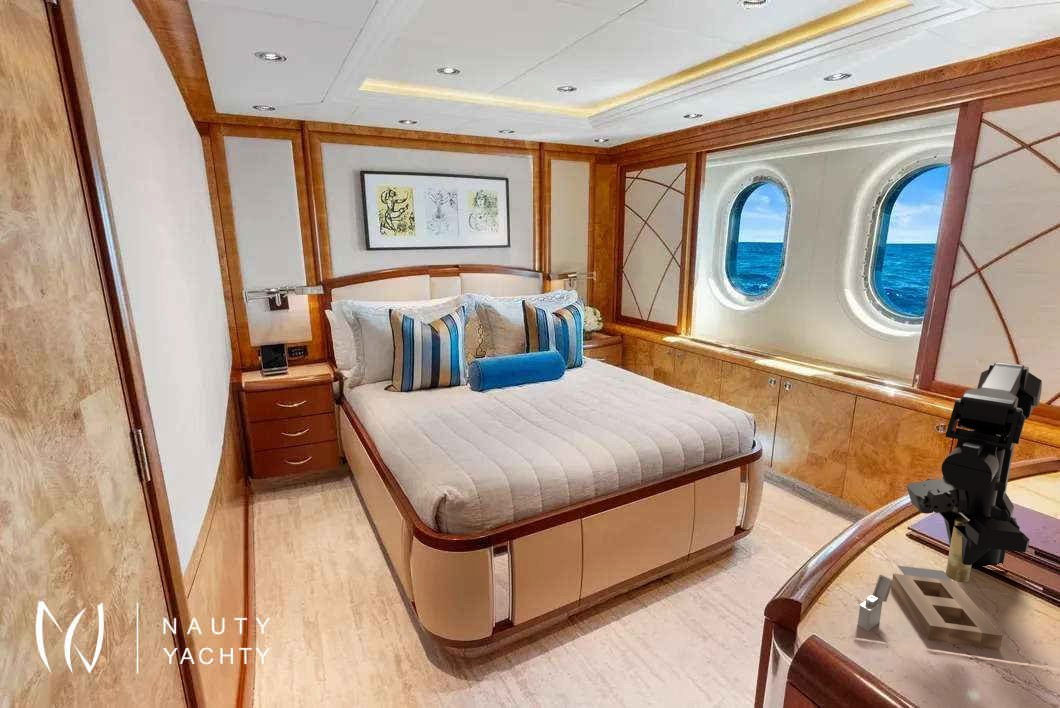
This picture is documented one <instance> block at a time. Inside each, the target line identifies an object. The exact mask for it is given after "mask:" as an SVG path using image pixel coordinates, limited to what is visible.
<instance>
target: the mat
mask: <svg viewBox="0 0 1060 708" xmlns="http://www.w3.org/2000/svg"><path fill="white" fill-rule="evenodd" d="M897 567H898V568H899V569H900V570H901V572H902V573H903V575H910V576H918V577H926V578H934V579H942V580H950V581H953V580H952V579H950V578H949V577H947V576H946V571H944V570H940V569H931V568H922V567H914V566H908V565H907V566H905V565H897Z"/></svg>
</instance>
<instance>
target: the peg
mask: <svg viewBox="0 0 1060 708" xmlns="http://www.w3.org/2000/svg"><path fill="white" fill-rule="evenodd" d="M966 522H968V520H967V519H963V518H956V519H955V521H954V525H957V526H966ZM948 551H949V552H948V557H947V563H946V568H945V573H946V576H947V577H949V578H950V579H951V580H952V581H955V582H956V583H957V582H958V583H963V584H966V583H969V580H970V576H971V575H970V574H971V571H972V568H971V566H972V565H964V564H963V563H962V535H961V533H960V532H959V531H958V530H957V529H956V528H955V527H953V533H952V539H951V545H950V544H949V550H948Z"/></svg>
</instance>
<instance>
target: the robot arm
mask: <svg viewBox="0 0 1060 708" xmlns="http://www.w3.org/2000/svg"><path fill="white" fill-rule="evenodd" d="M1029 369H1030V368H1029V366H1026V365H1024V364H1017V363H1010V362H1009V363H1007V362H999V361H996V362H991V363H990V364H989V367H988V369H987V370H984V371H982V372H981V373H980V376H979V380H978V383H977V387H976V388H972V389H971V388H970V389H967V390H966V391H965V392H964V393H962V395H961V398H959V397H958V398H956V399H955V402H954V405H953V408H952V412H951V414H950V415H951V416H950V419H949V421H948V425H947V429H946V432H945V438H948V439H949V438H950V439H954V440H957V441H956V445H955V447H954V448H953V450H952V451H951V452H950V453H949V454H948V456H946V457H945V459H944V460H943V461H942V464H941V473H942V478H940V479H935V478H933V479H932V478H927V479H926V480H923V481H918V482H911V483H908V484H907V485H906V490H907V492H908V496H909V499H910V502H911V504H912V505H913V506H914V507H915V508H916V509H917V510H918V512H920V513H922V514H927V515H928V514H933V513H935V514H939V515H941V517H942V518H943V520H944V525H945V528H946V532H947V537H948V538H947V539H948V542H949V546H950V545H951V539H952V533H953V527H955V528H956V529H957V530H958V531H959V532H960V533H961V535H962V563H963V564H964V565H972V566H971V569H974V570H983V571H986V570H985V569H986V568H984V567H982V566H986V565H997V564H999V563H1002V564H1003V565H1004V561H1005V557H1006V551H1009V552H1018V553H1027V552H1028V551H1029V550H1028V549H1029V545H1030V540H1031V539H1029V537H1028V536H1027V535H1026V534H1025V533H1024V532H1023V531H1021V530H1020V529H1021V527H1020V525H1019V524H1018V522H1017V520H1018V519H1017V518H1015V517H1013V515H1014V510H1015V505H1014V504H1013V502H1012V501H1011V500H1010V497H1009V496H1008V495H1007V486H1008V484H1009V483H1008V481H1009V477H1010V471H1011V466H1012V460H1013V456H1014V455H1013V454H1014V450H1015V445H1019V443H1020V440H1021V438H1022V433H1023V429H1024V425H1025V421H1026V420H1027V419H1028V418H1029V417H1030V415H1031V414H1032V413H1033V410H1034V408H1035V407H1036V408H1038V407H1039V404H1040V400H1041V395H1042V388H1043V387H1042V385H1043V381H1042V379H1040V378H1039V377H1037V376H1035V375H1034V374H1032V373H1031V372H1030V371H1029ZM956 426H957V427H956ZM956 518H963V519H967V520H968V522H966V526H957V525H954V521H955V519H956Z"/></svg>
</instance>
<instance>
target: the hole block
mask: <svg viewBox="0 0 1060 708" xmlns="http://www.w3.org/2000/svg"><path fill="white" fill-rule="evenodd" d="M891 579H893V584H892V587H891V589H893V591H894V592H895V594H896V595H897V596H898V598H899V599H900V602H902V605H904V606H905V609H907V611H908V612H909V614H910V616H911V617H912V618H913V620H914V622H915V623H916V624H917V626H918V627H919V629H920V630H921V632H922V634H923V635H924V636H925V637H926V639H927V640H928V641H934V642H935V641H936V642H940V643H948V644H954V645H960V646H967V647H975V648H980V649H981V648H982V649H987V650H994V651H1001V646H1002V640H1003V634H1002V633H1001V632H1000V631H999V629H997V628H996V626H994V624H993V623H992V622H991V621H990V620H989V618H988V617H987V616H986V615H985V614H984V613H983V612H982V610H980V608H979V607H978V606H977V605H976V604H975V602H974V601H973V600H972V599H971V598H970V597H969V596H968V594H966V592H965V591H964V590H963V589H962V587H961V586H959V585H958V584H957V581H954V580H952V581H950V580H942V579H934V578H926V577H918V576H910V575H904V574H901V573H893V574H892V577H891ZM949 622H952V623H949ZM957 623H959V624H957Z"/></svg>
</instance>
